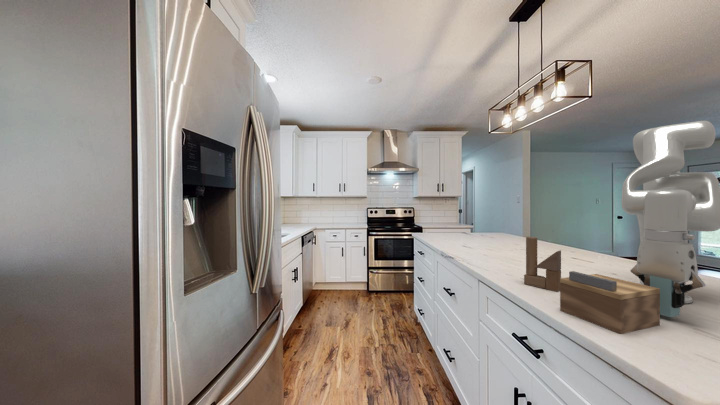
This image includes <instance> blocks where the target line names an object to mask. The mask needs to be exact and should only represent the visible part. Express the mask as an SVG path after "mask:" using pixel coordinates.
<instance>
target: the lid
mask: <svg viewBox="0 0 720 405" xmlns="http://www.w3.org/2000/svg"><path fill="white" fill-rule="evenodd" d="M568 276H569V277H567V276H566V277H561V278H560V283H564V284H567V285H571V286H574V287H577V288H581V289H584V290H588V291H591V292H595V293H598V294H601V295H605V296H608V297H612V298H615V299H619V300H624V299H630V298H635V297H641V296H647V295H653V294H659V293H660V289H659V288H655V287H651V286H646V285H642V284H640V283H637V282H633V281H629V280H624V279H621V278H616V277H611V276H606V275H603V274H600V273H599V274H598V273H595V274H594V273H592V274H587V273H582V272H579V271H575V270H572V271H569V275H568Z"/></svg>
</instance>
